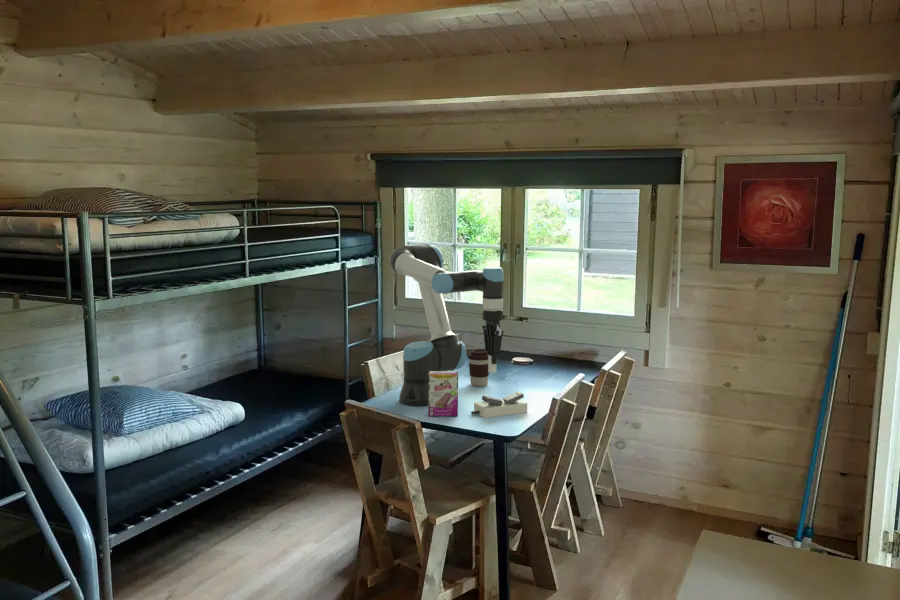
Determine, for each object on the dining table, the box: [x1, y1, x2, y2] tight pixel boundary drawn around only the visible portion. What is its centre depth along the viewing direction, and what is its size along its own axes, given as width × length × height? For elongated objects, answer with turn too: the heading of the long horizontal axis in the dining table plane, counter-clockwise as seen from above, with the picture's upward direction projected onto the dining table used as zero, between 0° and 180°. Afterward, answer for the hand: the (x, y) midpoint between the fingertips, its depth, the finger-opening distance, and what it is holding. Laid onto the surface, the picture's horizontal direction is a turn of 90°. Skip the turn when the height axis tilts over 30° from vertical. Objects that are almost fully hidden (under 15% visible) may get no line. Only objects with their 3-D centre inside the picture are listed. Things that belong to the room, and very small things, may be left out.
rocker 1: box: [481, 395, 503, 405], centre depth 273 cm, size 7×4×2 cm, turn 113°
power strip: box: [470, 398, 528, 419], centre depth 277 cm, size 21×9×4 cm, turn 113°
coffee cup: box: [467, 348, 490, 388], centre depth 316 cm, size 10×10×15 cm
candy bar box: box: [427, 370, 459, 417], centre depth 273 cm, size 11×5×16 cm, turn 92°
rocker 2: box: [502, 390, 525, 404], centre depth 277 cm, size 7×4×2 cm, turn 113°
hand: (492, 371), depth 272 cm, fingers closed
